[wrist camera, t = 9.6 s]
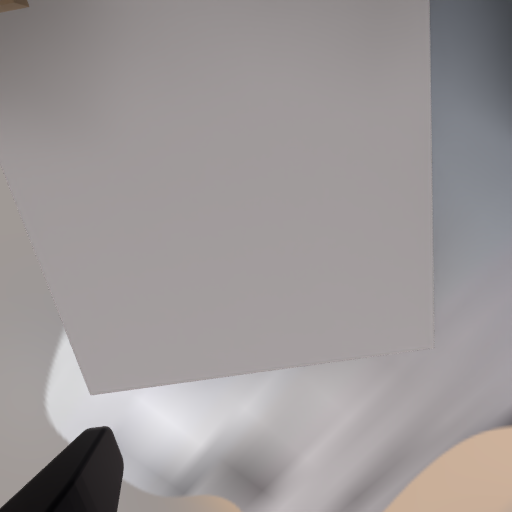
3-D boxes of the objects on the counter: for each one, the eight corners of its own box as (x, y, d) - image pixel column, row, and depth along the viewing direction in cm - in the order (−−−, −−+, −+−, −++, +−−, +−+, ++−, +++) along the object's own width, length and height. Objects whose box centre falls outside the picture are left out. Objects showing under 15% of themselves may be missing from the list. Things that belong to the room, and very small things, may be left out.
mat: (422, -76, 15) (428, -81, 14) (429, 341, 22) (434, 348, 21) (-47, 17, 16) (-58, 16, 16) (94, 387, 23) (90, 395, 22)
